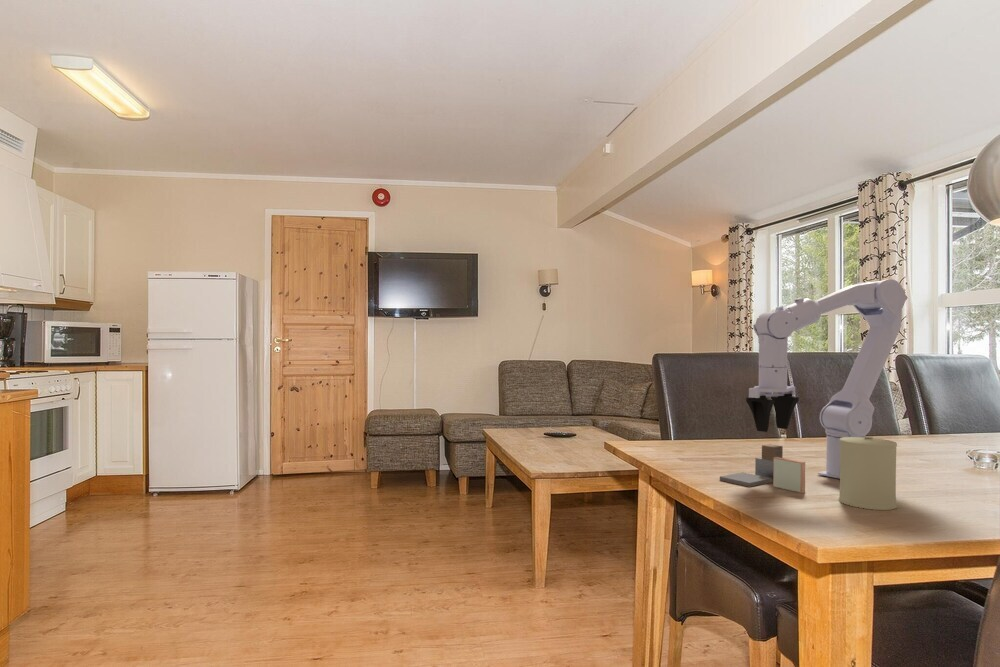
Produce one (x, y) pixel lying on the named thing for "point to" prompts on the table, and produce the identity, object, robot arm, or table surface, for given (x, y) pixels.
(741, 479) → the mat
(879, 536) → the table surface
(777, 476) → the tile
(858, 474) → the can
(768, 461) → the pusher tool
